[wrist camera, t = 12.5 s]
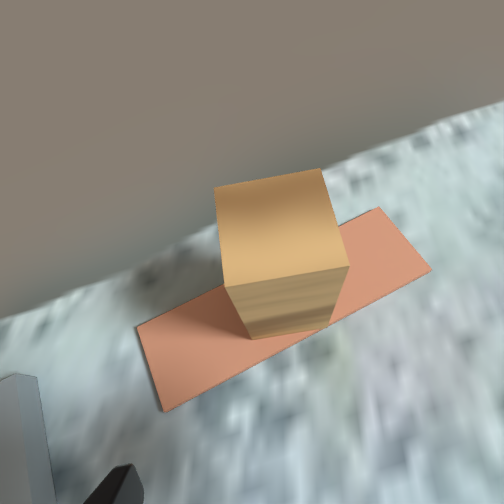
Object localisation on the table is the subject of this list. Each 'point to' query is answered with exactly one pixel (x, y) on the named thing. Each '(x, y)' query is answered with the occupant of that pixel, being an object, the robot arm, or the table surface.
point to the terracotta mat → (255, 351)
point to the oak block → (281, 252)
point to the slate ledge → (23, 444)
